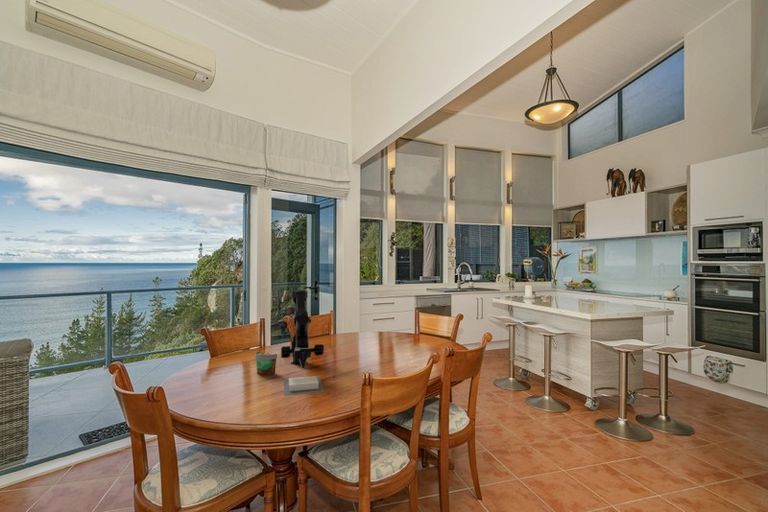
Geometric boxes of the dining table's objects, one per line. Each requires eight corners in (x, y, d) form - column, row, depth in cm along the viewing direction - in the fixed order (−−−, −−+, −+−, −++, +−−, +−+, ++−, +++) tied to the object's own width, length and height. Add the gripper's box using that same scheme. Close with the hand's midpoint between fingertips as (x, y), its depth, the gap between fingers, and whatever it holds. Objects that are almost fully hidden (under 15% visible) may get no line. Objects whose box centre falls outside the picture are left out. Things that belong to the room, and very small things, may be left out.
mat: (283, 380, 159) (283, 379, 159) (319, 377, 163) (319, 376, 163) (284, 396, 140) (284, 395, 140) (324, 392, 144) (324, 391, 144)
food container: (248, 374, 167) (249, 353, 167) (258, 370, 172) (259, 350, 173) (267, 378, 161) (267, 356, 161) (277, 374, 167) (277, 353, 167)
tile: (288, 378, 152) (289, 385, 144) (316, 375, 156) (318, 382, 147) (288, 384, 152) (289, 391, 144) (316, 382, 156) (318, 389, 147)
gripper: (320, 345, 171) (323, 375, 160) (281, 348, 165) (280, 378, 155) (322, 332, 163) (325, 362, 152) (281, 334, 158) (281, 366, 147)
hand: (303, 367), depth 152 cm, fingers closed
